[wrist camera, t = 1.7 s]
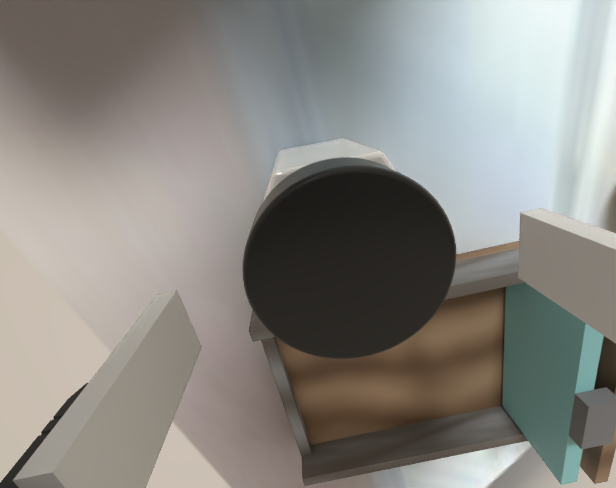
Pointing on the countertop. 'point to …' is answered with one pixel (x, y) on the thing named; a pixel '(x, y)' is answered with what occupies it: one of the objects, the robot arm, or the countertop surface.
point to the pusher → (554, 381)
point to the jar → (346, 252)
